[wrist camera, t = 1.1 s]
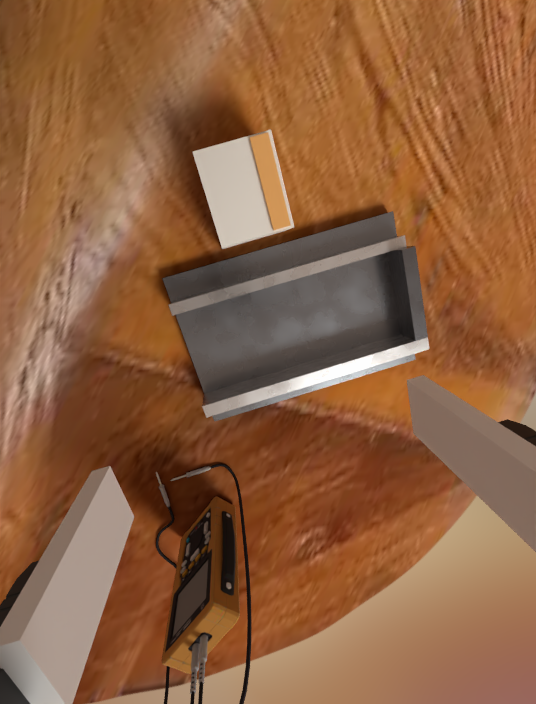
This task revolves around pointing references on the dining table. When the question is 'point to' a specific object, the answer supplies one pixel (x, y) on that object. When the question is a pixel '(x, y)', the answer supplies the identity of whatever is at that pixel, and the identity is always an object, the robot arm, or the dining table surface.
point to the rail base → (300, 315)
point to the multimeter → (205, 589)
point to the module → (244, 189)
